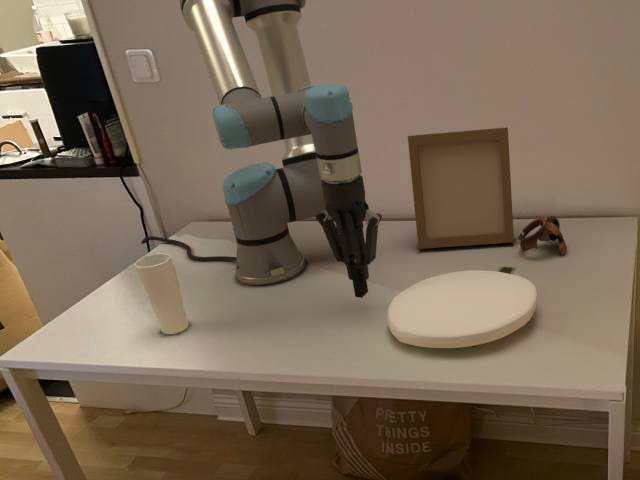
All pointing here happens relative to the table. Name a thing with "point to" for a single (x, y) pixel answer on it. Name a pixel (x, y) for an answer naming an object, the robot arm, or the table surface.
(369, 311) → the table surface
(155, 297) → the drinking glass
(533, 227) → the brown curved piece
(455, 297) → the plate
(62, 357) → the table surface
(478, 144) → the photo frame
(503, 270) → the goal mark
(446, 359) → the table surface
